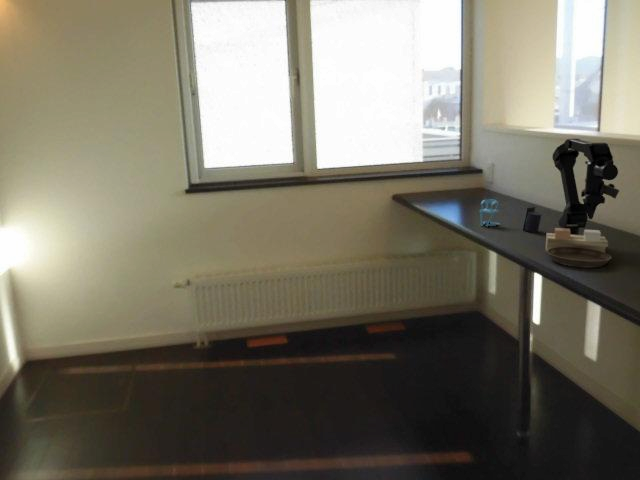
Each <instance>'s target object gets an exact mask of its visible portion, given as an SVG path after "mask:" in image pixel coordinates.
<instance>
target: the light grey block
mask: <svg viewBox="0 0 640 480" xmlns="http://www.w3.org/2000/svg"><path fill="white" fill-rule="evenodd" d="M583 235H584V236H583V238H584V240H589V241H600V236H602V233H601V231H600V229H585V228H583Z"/></svg>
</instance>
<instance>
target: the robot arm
mask: <svg viewBox="0 0 640 480" xmlns="http://www.w3.org/2000/svg"><path fill="white" fill-rule="evenodd" d="M580 153H583V156H584V157H585V158H587V160H586V161H585V162H584V164H585V165H586V176H585V179H584V182H585V183H584V184H585V186H584V189H582V190H581V193H580V196H581V197H582V202H583V203H582V202H580V198H579V193H578V192H579V191H578V188H577V183H576V176H575V173H574V167H575V165H576V163H577V158H578V157H579V155H580ZM613 158H614V156H613V155H612V151H611V149H610V146H609V144H608V143H607V142H589V141H586V140H581V139H580V138H568V139H565V141H564V142H563V143H561V145H559V146H557V147H556V148H555V150H554V151H553V152H552V161H553V164H554V167H555V168H556V169H557V170H558V171H559V173H560V177H561V182H562V183H561V184H562V189H563V193H564V201H565V207H564V209H563V211H562V216H561V217H560V218H559V220H558V227H559V228H567V229H570V231H571V232H570V234H573V235H580V229H581V228H582V229H585V228H586V226H587V222H588V220H593V218H594V215H595V212H596V210H597V207H598V206H599V205H601V204H605V202H606V197H605V196H604V195H606V196H608V197H611V198H613V199H616V198H617V196H618V195H619V192H620V189H618V188H615V184H614V183H608V184H605V181H612V180H615V179H616V178H617V176H618V174H619V170H618V167H617V166H616V164H614V159H613ZM604 180H605V181H604Z"/></svg>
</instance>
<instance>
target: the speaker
mask: <svg viewBox="0 0 640 480" xmlns="http://www.w3.org/2000/svg"><path fill="white" fill-rule="evenodd" d="M541 219H542V213H541V212H538V211H536V206H532V207H527V208H526V214H525V218H524V223H523V228H522V231H523V232H524V231H526V232H529V233H538V232H539V228H540V223H541Z"/></svg>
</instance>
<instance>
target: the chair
mask: <svg viewBox="0 0 640 480" xmlns="http://www.w3.org/2000/svg"><path fill="white" fill-rule="evenodd" d="M484 204H486V205H485V206H486V207H485V208H484V206H483V205H484ZM489 204H490V206H491V207H490V208H489ZM480 206H481V209H479V210H478V212H479V214H480V227H484V226H485V227H486V226H487V227H486V228H488V226H490V227H497V226H496V225H498V226H500V225H501V223H500V222H493V221H492V219H493V217H494V215H495V214H497V213H499V212H500V209H498V206H499V202H498V200H496V199H494V198H489V199H483V200H482V201H481V202H480ZM493 206H495V209H493V208H494V207H493ZM484 213H485V214H486V213H488V214H490V217H489V219H488V221H487V220H485V221H484ZM489 223H490V224H489ZM484 224H485V225H484ZM483 225H484V226H483Z"/></svg>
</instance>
